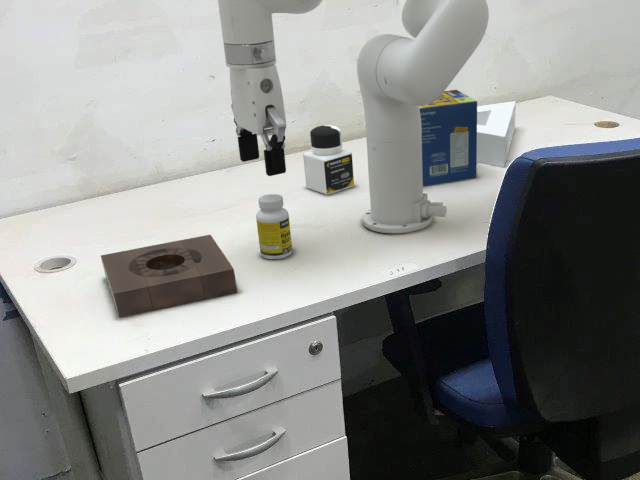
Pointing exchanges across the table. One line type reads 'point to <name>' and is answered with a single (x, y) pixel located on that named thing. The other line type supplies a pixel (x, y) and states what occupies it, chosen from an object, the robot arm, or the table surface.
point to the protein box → (449, 138)
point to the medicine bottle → (328, 162)
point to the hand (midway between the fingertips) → (262, 166)
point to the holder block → (168, 275)
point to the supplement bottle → (273, 227)
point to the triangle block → (495, 132)
